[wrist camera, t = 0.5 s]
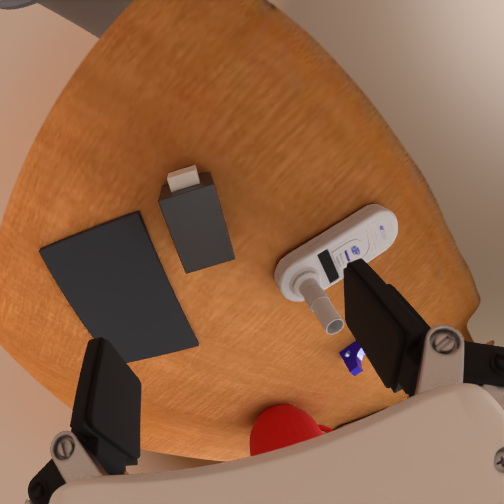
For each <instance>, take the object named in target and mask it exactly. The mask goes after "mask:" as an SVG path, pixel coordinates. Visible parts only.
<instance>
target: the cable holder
mask: <svg viewBox="0 0 504 504" xmlns="http://www.w3.org/2000/svg"><path fill="white" fill-rule="evenodd" d="M364 354H365V353H364V351H363V350H362V348H361V346H360V345H359V343H358V342H357V341H355V342H354V343H353V344H351V345H350V346H348V347H347V348H346V349H344V350H343V351H341V352H340V355H341V357H342V358H343V360H344V362H345V364H346V366H347V367H348V369H349V371H350V372H351V373H352V374H353V375H354V376H355V375H357V374H358V373H360V372H361V371H363V370H362V367H361V361H362V358H363V356H364Z"/></svg>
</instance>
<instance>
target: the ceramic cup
mask: <svg viewBox="0 0 504 504" xmlns="http://www.w3.org/2000/svg"><path fill="white" fill-rule="evenodd" d="M321 430H322V431H325V432H327V433H329V432H331V431H333V430H332V429H331V428H329V427H326V426H323V425H318V424H317V423H316V422H315V421H314V419H313V418H312V417H311V416H309V415H308V414H307V413H305V412H304V411H302V410H300V409H298V408H296V407H293V406H292V405H288V404H282V405H276V406H273V407H270V408H268V409H266V410H264V411H263V412H262V413H261V414H260V415H259V417H258V419H257V420H256V422H255V424H254V426H253V428H252V431H251V434H250V454H251V456H255V455H259V454H262V453H266V452H270V451H274V450H277V449H281V448H284V447H287V446H290V445H294V444H297V443H300V442H303V441H306V440H309V439H312V438H315V437H318V436H321V435H323V433H322V431H321Z"/></svg>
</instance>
